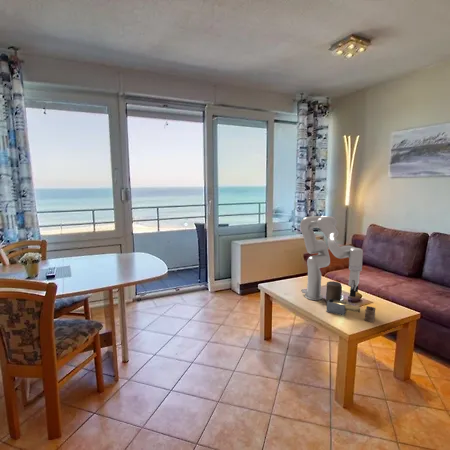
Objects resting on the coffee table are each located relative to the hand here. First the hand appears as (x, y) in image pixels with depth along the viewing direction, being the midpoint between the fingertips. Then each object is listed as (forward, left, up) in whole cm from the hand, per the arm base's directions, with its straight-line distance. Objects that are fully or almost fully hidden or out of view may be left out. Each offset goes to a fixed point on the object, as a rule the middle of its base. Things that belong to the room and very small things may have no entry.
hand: (353, 294), depth 190 cm
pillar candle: (-15, +16, -15) cm, 27 cm away
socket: (+10, 0, -15) cm, 18 cm away
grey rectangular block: (-10, 0, -15) cm, 18 cm away
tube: (-4, 0, -11) cm, 12 cm away
